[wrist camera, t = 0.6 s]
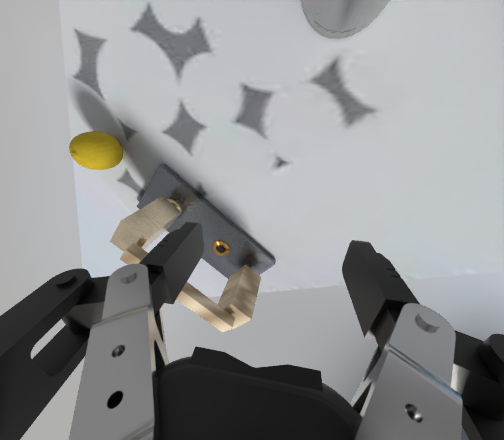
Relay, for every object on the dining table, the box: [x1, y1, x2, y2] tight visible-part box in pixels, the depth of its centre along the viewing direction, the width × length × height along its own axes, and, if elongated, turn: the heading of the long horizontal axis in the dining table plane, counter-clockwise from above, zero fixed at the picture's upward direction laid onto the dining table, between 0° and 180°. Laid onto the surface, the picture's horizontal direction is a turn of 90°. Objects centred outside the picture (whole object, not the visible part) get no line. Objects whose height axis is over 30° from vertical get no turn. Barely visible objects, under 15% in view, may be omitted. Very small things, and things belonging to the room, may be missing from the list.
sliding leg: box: [120, 243, 261, 332], centre depth 32 cm, size 20×5×12 cm, turn 49°
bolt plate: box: [110, 164, 276, 279], centre depth 33 cm, size 27×11×12 cm, turn 49°
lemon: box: [69, 131, 123, 170], centre depth 30 cm, size 6×6×8 cm
